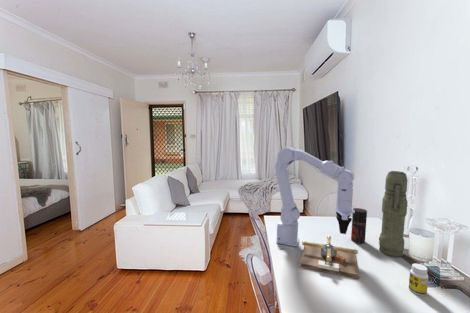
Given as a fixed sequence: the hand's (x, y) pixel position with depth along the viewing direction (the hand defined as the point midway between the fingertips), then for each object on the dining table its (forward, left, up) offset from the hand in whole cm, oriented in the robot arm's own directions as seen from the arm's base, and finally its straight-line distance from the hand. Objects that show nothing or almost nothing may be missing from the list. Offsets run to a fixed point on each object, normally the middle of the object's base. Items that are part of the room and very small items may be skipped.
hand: (342, 231), depth 99 cm
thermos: (+20, +12, -11) cm, 25 cm away
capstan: (-5, -5, -9) cm, 12 cm away
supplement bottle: (+22, -15, -11) cm, 29 cm away
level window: (-5, -14, -9) cm, 18 cm away
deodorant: (+8, +19, -11) cm, 23 cm away
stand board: (-5, -5, -10) cm, 13 cm away
